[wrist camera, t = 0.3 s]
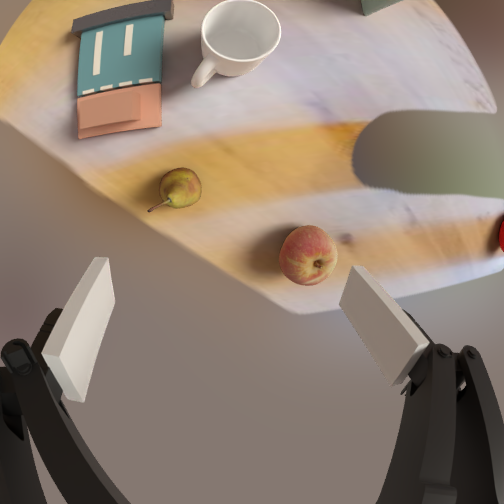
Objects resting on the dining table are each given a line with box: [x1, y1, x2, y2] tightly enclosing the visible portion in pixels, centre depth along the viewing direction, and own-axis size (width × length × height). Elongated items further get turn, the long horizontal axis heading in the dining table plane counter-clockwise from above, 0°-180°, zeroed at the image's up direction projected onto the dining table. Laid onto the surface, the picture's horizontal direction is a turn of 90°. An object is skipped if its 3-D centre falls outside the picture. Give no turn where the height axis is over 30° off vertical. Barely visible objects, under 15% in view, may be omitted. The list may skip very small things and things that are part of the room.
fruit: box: [148, 168, 201, 212], centre depth 32 cm, size 6×6×12 cm
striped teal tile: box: [77, 15, 165, 97], centre depth 25 cm, size 13×12×2 cm
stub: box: [77, 83, 162, 139], centre depth 28 cm, size 6×12×6 cm, turn 89°
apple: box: [279, 225, 337, 286], centre depth 41 cm, size 9×9×8 cm
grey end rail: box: [71, 0, 174, 38], centre depth 22 cm, size 2×14×3 cm, turn 89°
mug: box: [191, 0, 281, 88], centre depth 25 cm, size 12×8×10 cm
